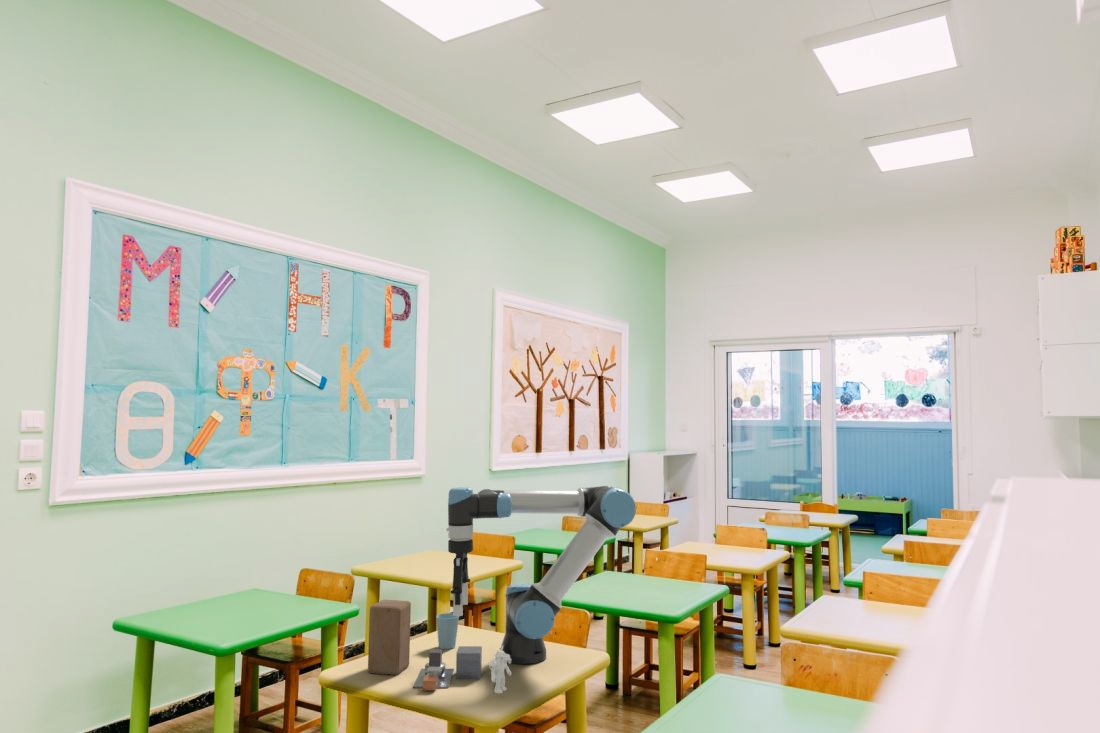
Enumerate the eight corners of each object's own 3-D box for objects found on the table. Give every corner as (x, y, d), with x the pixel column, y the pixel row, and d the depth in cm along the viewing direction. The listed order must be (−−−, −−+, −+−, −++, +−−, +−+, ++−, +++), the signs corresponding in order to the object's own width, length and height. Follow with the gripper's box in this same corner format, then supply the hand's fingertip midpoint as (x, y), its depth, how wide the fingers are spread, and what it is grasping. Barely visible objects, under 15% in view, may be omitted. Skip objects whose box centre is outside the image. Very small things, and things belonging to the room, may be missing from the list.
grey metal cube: (481, 671, 225) (481, 646, 226) (479, 679, 218) (480, 653, 219) (458, 671, 225) (458, 646, 226) (456, 679, 218) (456, 653, 219)
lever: (454, 669, 227) (454, 645, 227) (446, 691, 208) (447, 664, 208) (421, 669, 226) (422, 645, 227) (411, 691, 208) (411, 664, 208)
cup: (455, 650, 246) (455, 618, 247) (432, 649, 247) (433, 617, 248) (461, 644, 254) (461, 613, 254) (439, 643, 255) (440, 612, 256)
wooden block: (397, 676, 220) (399, 607, 222) (366, 673, 222) (368, 606, 224) (410, 666, 230) (412, 600, 232) (380, 663, 232) (382, 598, 234)
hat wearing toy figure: (503, 684, 214) (504, 642, 215) (514, 687, 212) (515, 644, 213) (484, 694, 206) (485, 650, 207) (496, 696, 204) (496, 652, 205)
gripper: (453, 533, 238) (453, 600, 236) (442, 545, 213) (442, 620, 211) (476, 532, 238) (477, 600, 236) (468, 545, 213) (468, 620, 211)
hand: (460, 610), depth 224 cm, fingers open, 13 cm apart
